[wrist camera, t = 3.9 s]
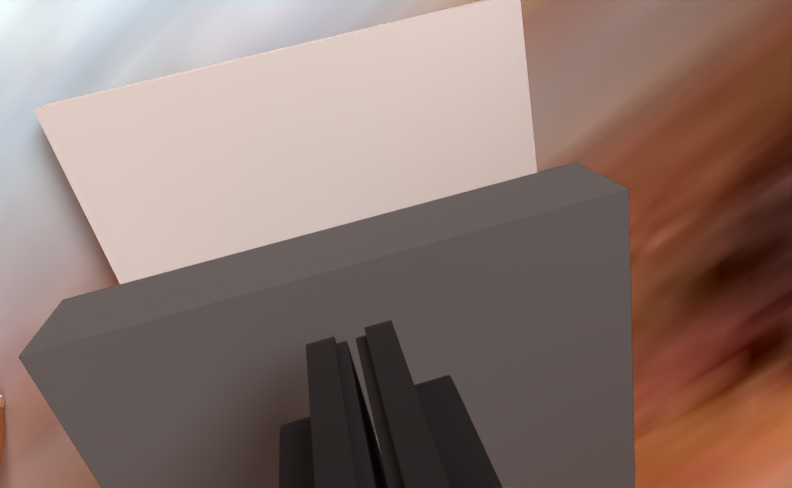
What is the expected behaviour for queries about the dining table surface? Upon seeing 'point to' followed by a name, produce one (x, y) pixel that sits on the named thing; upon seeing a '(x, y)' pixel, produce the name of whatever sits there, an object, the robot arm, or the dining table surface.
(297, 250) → the square hole plate
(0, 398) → the ring
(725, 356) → the dining table surface
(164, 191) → the stand plate
